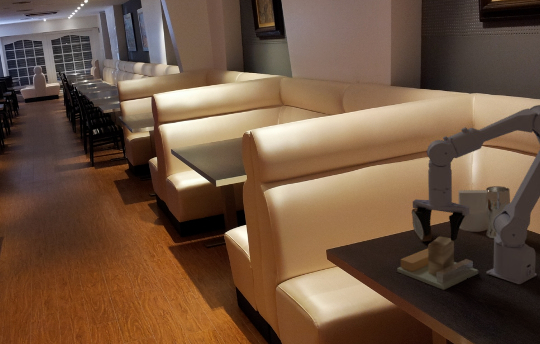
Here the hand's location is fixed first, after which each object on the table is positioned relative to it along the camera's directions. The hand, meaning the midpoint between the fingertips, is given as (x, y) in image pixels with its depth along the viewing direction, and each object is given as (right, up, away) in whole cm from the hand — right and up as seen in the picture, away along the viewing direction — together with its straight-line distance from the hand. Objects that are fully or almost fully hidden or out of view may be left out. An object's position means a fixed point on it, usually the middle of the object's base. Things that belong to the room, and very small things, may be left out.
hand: (440, 237), depth 145 cm
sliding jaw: (-3, -8, +7) cm, 11 cm away
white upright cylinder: (+21, -1, +35) cm, 41 cm away
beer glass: (+25, -3, +26) cm, 36 cm away
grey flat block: (0, -10, +3) cm, 10 cm away
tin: (+3, -4, +30) cm, 30 cm away
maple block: (+1, -9, +2) cm, 9 cm away
